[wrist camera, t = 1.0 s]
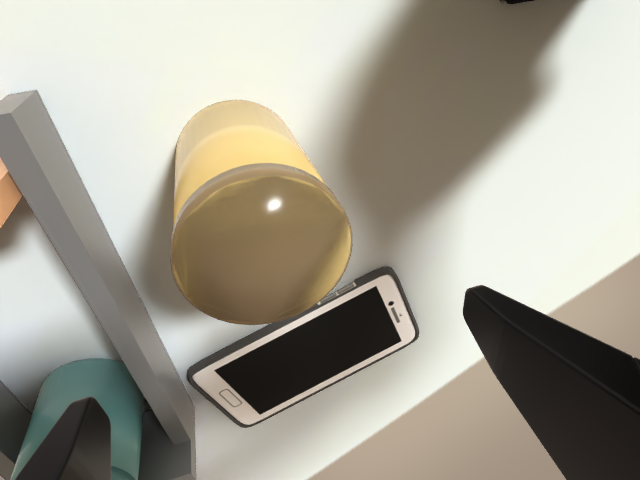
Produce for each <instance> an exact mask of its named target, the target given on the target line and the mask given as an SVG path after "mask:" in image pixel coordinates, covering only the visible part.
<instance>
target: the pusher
mask: <svg viewBox="0 0 640 480" xmlns="http://www.w3.org/2000/svg"><path fill="white" fill-rule="evenodd" d="M22 196H23V194H22V193H21V191H20V189H19V188H18V186H17V184H16V183H15V181H14V180H13V178H12V176H11V175H10V173H9V171H8V170H7V168H6V166H5V165H4V163H3V161H2V160H1V158H0V228H1V227H2V225H3V224H4V223H5V221H6V220H7V218H8V217H9V215H10V214H11V212H12V211H13V209H14V208H15V206H16V205H17V203H18V202H19V201H20V199H21V198H22Z"/></svg>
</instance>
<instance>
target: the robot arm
mask: <svg viewBox="0 0 640 480" xmlns="http://www.w3.org/2000/svg"><path fill="white" fill-rule="evenodd" d="M500 1H501V2H502V3H507V4H515V3H521V2H527V1H533V0H500ZM463 316H464V319H465V321H466V323H467V325H468V327H469V329H470V331H471V333H472V334H473V336H474V338H475V340H476V342H477V344H478V346H479V347H480V349H481V351H482V353H483V355H484V357H485V359H486V360H487V362H488V364H489V366H490V368H491V369H492V371H493V373H494V374H495V376H496V377H497V379H498V380H499V382H500V383H501V385H502V386H503V388H504V389H505V390H506V392H507V393H508V395H509V396H510V398H511V399H512V401H513V402H514V404H515V405H516V407H517V408H518V409H519V411H520V413H521V414H522V415H523V417H524V418H525V420H526V421H527V423H528V424H529V426H530V427H531V429H532V430H533V431H534V433H535V434H536V436H537V437H538V439H539V440H540V442H541V443H542V445H543V446H544V448H545V449H546V450H547V452H548V453H549V455H550V456H551V458H552V459H553V461H554V462H555V464H556V465H557V466H558V468H559V469H560V471H561V472H562V474H563V475H564V477H565V478H566V480H640V359H638V358H633V357H632V356H631V355H629V354H627V353H625V352H623V351H621V350H619V349H616V348H615V347H613V346H610V345H608V344H606V343H604V342H602V341H600V340H598V339H596V338H593V337H591V336H589V335H587V334H585V333H583V332H581V331H579V330H577V329H574V328H573V327H570V326H568V325H566V324H564V323H562V322H560V321H558V320H556V319H553V318H551V317H549V316H547V315H545V314H543V313H541V312H539V311H537V310H535V309H533V308H530V307H528V306H526V305H524V304H522V303H520V302H518V301H516V300H514V299H511V298H509V297H507V296H505V295H503V294H501V293H499V292H497V291H495V290H493V289H490V288H488V287H486V286H483V285H479V286H475V287H472V288H469V289H467V290H466V293H465V299H464V307H463ZM14 480H111V424H110V419H109V417H108V415H107V414H106V412H105V411H104V409H103V408H102V407H101V405H100V404H99V402H98V401H97V400H96V399H95V398H94V397H92V396H89V397H85V398H82V399H78V400H75V401H73V402H72V403H71V404H70V405H69V406H68V407H67V409H66V410H65V411H64V413H63V414H62V415H61V417H60V418H59V419H58V421H57V422H56V424H55V425H54V426H53V428H52V429H51V430H50V432H49V433H48V434H47V436H46V437H45V438H44V440H43V441H42V443H41V444H40V445H39V447H38V448H37V449H36V451H35V452H34V453H33V455H32V456H31V458H30V459H29V460H28V462H27V463H26V464H25V466H24V467H23V468H22V470H21V471H20V473H19V474H18V475H17V477H16V478H15V479H14Z"/></svg>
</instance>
